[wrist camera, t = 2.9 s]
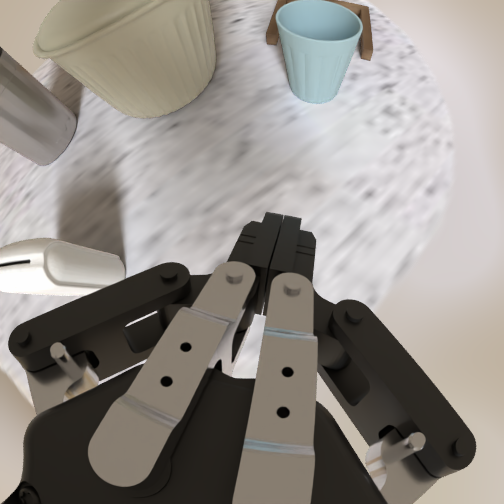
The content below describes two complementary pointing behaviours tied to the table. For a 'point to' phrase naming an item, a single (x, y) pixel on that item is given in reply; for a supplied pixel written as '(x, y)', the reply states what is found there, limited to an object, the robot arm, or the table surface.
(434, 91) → the table surface
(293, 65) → the cup
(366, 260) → the table surface
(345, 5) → the walnut bay
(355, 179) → the table surface
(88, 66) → the canister
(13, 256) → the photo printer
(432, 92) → the table surface
